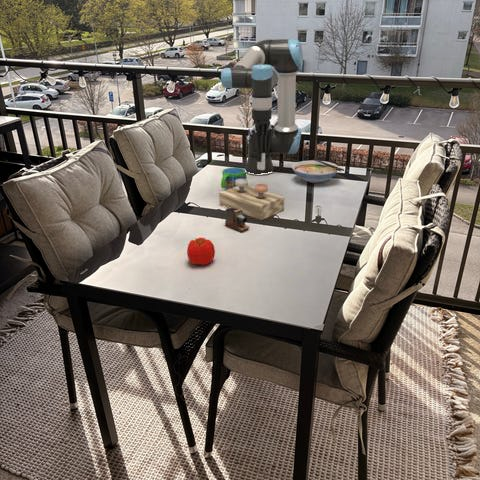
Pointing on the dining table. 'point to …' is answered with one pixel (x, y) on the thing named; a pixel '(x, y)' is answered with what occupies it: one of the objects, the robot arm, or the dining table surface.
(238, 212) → the electronic device
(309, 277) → the dining table surface
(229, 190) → the switch box
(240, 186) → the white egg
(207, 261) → the tomato
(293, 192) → the dining table surface
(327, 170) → the ramen bowl
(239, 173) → the snack cup
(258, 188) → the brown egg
